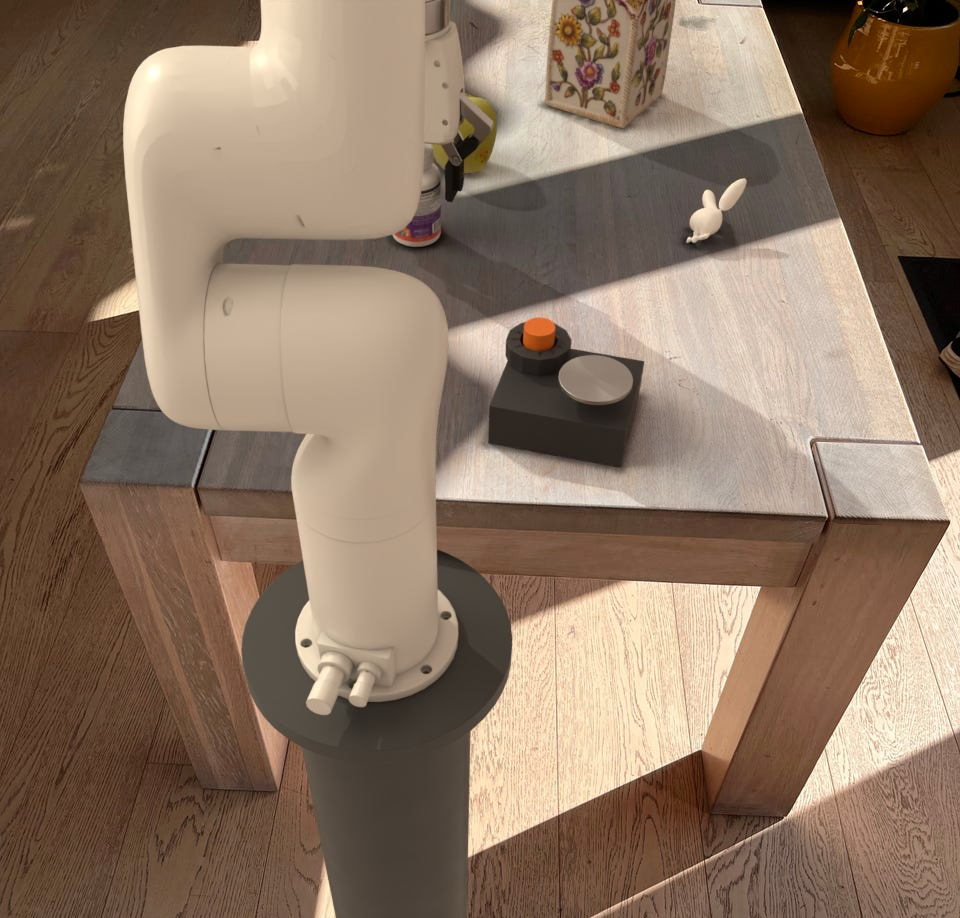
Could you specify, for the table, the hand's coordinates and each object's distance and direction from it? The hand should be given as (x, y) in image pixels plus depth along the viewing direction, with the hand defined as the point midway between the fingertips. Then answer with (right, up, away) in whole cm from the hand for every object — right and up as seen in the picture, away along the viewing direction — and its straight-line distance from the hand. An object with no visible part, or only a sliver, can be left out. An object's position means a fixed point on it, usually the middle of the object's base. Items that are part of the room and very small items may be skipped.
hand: (415, 188), depth 114 cm
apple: (+5, +8, +14) cm, 17 cm away
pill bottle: (0, -3, +4) cm, 5 cm away
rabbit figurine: (+32, -2, +6) cm, 33 cm away
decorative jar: (+23, +21, +25) cm, 40 cm away
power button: (+12, -21, -17) cm, 30 cm away
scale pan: (+17, -25, -21) cm, 37 cm away
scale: (+15, -27, -15) cm, 34 cm away
